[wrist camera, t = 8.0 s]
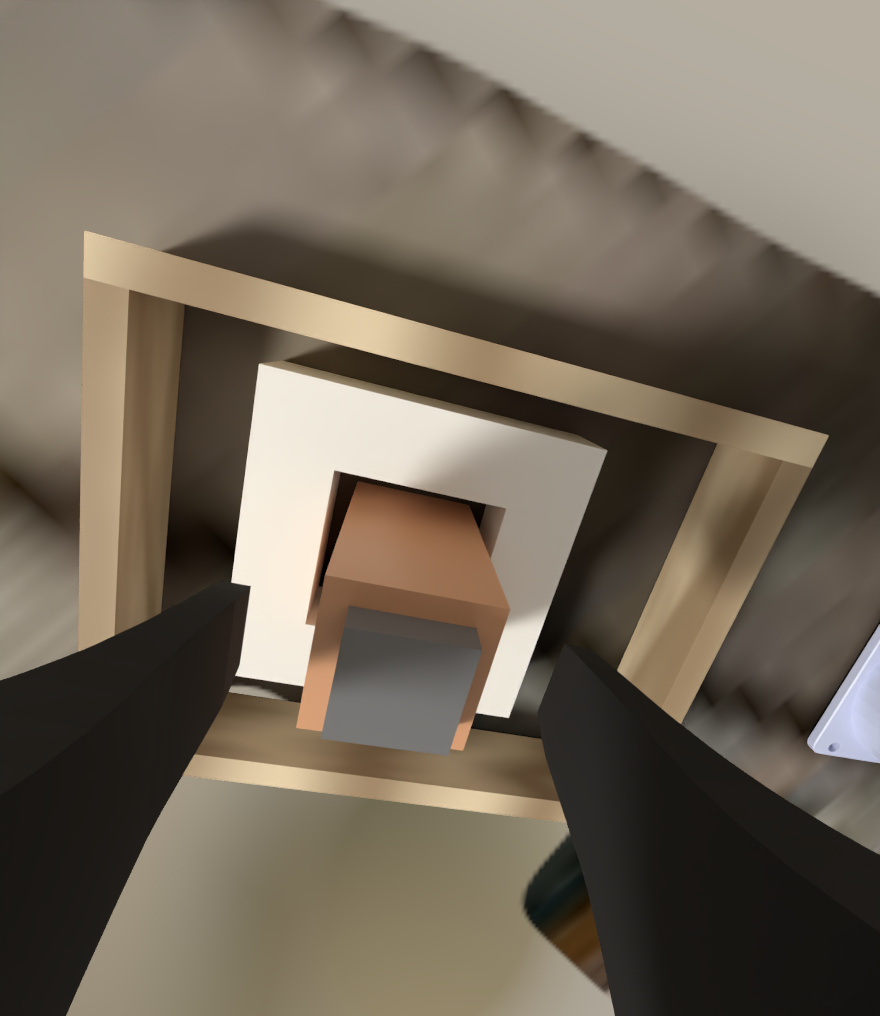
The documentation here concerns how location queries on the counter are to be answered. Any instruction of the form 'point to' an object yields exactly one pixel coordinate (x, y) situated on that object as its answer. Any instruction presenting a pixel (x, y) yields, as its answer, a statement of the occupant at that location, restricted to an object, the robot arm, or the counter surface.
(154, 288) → the tray
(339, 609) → the peg
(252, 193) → the counter surface
